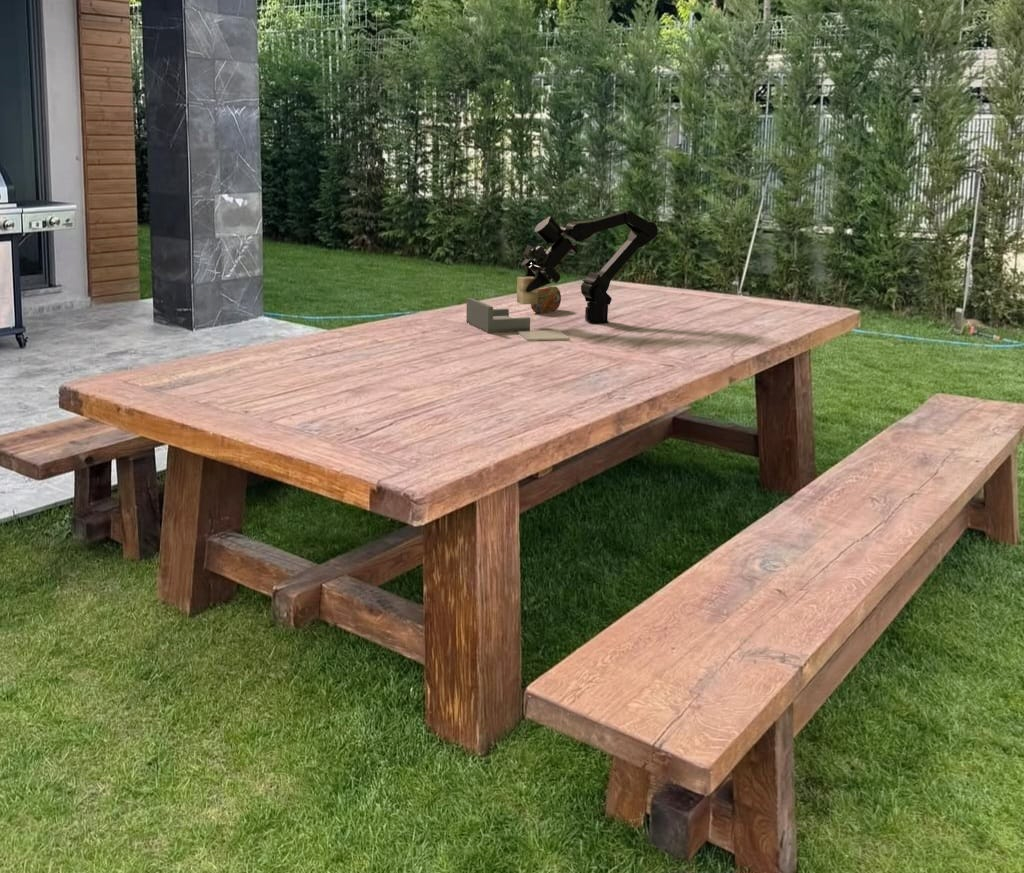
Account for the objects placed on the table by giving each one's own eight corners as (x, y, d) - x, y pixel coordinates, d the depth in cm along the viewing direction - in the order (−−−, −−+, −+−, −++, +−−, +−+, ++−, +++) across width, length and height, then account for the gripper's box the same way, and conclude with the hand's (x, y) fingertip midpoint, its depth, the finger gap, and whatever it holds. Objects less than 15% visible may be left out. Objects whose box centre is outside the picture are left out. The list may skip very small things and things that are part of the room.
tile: (558, 332, 343) (558, 330, 342) (569, 340, 330) (569, 338, 330) (517, 333, 340) (517, 331, 340) (527, 341, 328) (527, 339, 327)
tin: (536, 314, 374) (536, 289, 372) (528, 313, 376) (529, 289, 374) (561, 309, 386) (562, 285, 384) (554, 308, 388) (554, 284, 385)
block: (531, 301, 355) (531, 276, 352) (537, 303, 350) (538, 278, 348) (516, 302, 353) (517, 276, 351) (523, 304, 348) (523, 279, 346)
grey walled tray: (506, 320, 361) (507, 296, 359) (529, 330, 344) (530, 305, 342) (466, 322, 356) (466, 297, 354) (487, 333, 339) (488, 307, 336)
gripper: (528, 233, 355) (495, 269, 354) (551, 239, 339) (518, 276, 338) (549, 257, 361) (518, 292, 359) (574, 264, 344) (541, 301, 343)
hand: (523, 290), depth 350 cm, fingers closed on block, 5 cm apart
